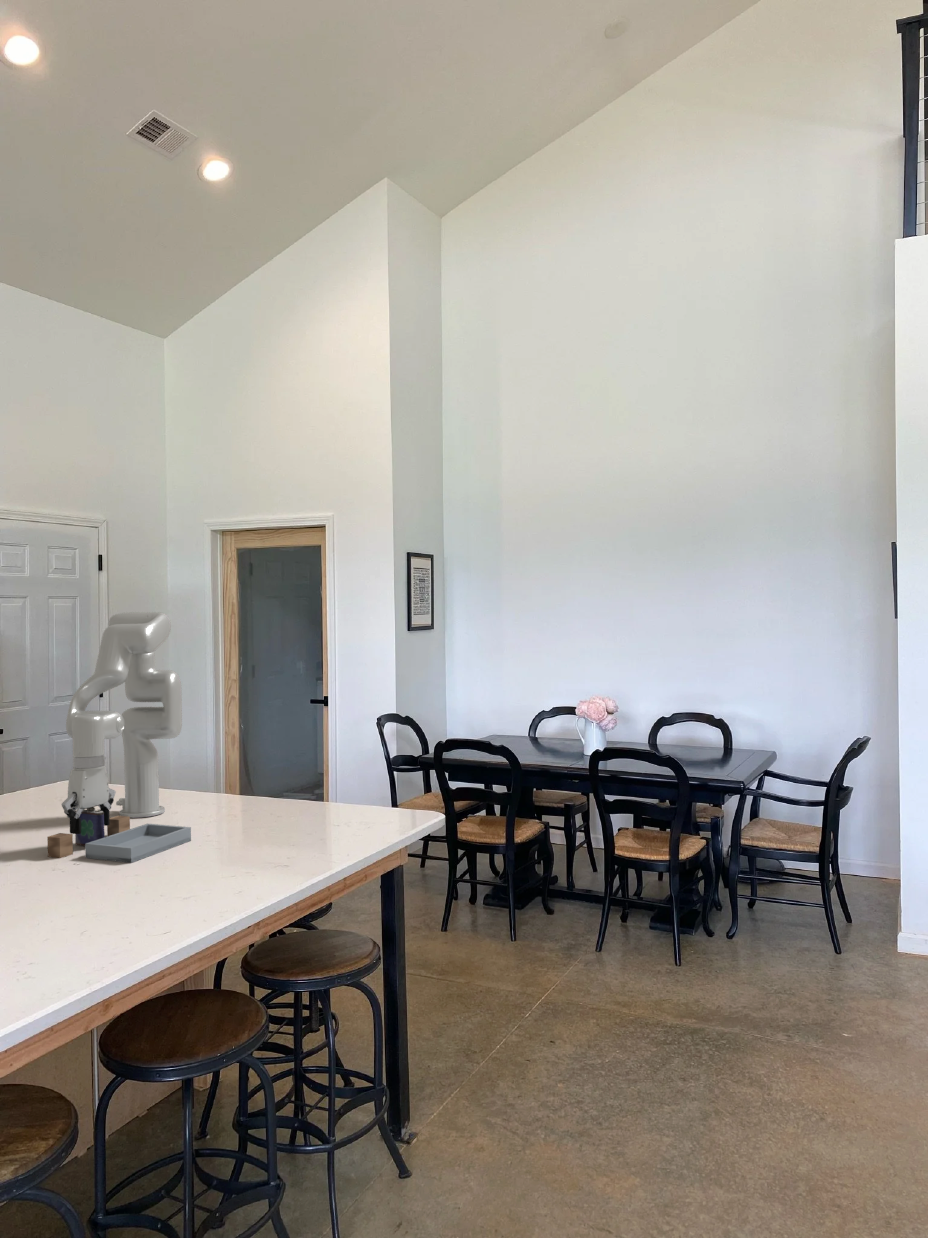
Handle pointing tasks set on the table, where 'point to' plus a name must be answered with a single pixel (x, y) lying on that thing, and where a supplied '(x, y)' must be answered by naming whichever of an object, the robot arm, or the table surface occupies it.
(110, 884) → the table surface
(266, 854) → the table surface
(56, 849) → the walnut block near
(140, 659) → the robot arm
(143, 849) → the tray
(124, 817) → the walnut block far
